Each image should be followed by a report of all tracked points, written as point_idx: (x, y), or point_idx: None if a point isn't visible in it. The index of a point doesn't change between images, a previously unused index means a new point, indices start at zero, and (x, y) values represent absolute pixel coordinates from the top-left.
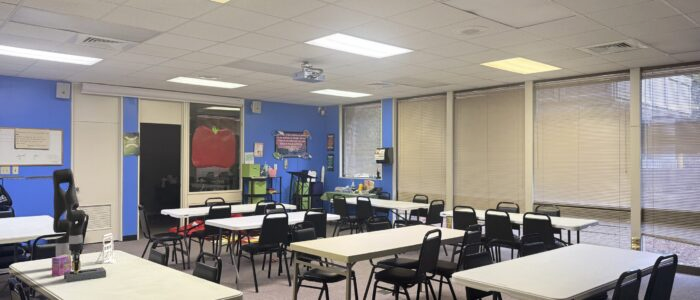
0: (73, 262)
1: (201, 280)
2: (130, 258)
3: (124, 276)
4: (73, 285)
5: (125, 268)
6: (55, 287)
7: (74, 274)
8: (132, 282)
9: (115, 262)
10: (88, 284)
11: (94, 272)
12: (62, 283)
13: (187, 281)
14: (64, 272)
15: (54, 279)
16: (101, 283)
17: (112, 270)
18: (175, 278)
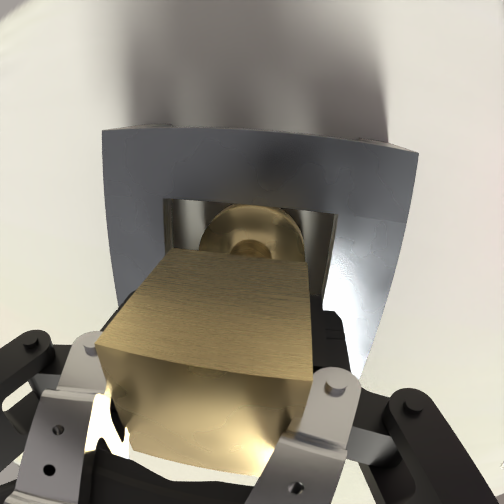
0: (104, 358)
1: (20, 463)
2: (497, 490)
3: (133, 450)
4: (15, 177)
5: (339, 497)
6: (28, 44)
7: (124, 238)
8: (15, 403)
9: (500, 467)
10: (9, 270)
11: None
12: (126, 88)
13: None
14: (387, 151)
15: (418, 50)
16: (15, 330)
17: (352, 469)
18: None
